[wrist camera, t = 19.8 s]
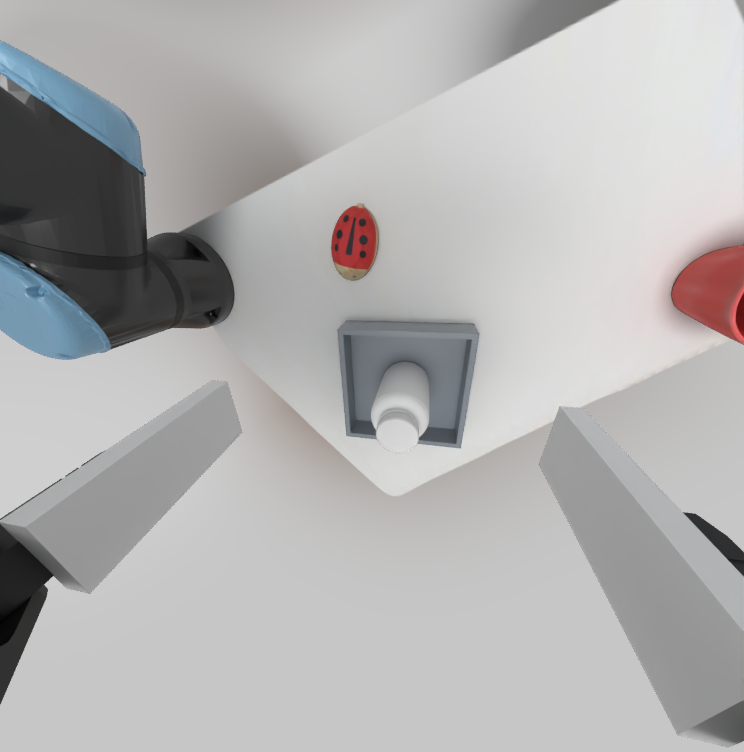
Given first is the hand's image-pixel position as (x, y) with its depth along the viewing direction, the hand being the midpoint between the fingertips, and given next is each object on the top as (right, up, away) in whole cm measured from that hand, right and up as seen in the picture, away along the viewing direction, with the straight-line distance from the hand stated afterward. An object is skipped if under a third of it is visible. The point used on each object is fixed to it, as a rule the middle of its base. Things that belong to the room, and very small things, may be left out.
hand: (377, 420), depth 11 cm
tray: (+6, +1, +36) cm, 36 cm away
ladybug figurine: (-2, +21, +28) cm, 35 cm away
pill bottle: (+6, +1, +35) cm, 35 cm away
